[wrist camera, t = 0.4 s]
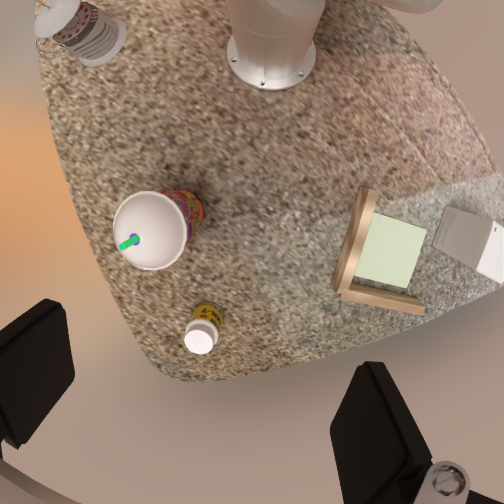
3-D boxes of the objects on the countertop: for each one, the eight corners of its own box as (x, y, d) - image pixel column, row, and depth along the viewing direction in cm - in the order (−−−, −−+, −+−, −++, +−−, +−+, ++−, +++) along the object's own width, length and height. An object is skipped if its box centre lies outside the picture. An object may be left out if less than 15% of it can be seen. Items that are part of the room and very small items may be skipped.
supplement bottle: (229, 312, 47) (223, 340, 39) (213, 332, 48) (204, 362, 40) (204, 295, 46) (192, 321, 38) (188, 316, 47) (175, 344, 39)
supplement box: (430, 246, 43) (474, 270, 31) (446, 204, 41) (494, 218, 29) (458, 260, 43) (502, 286, 31) (474, 221, 41) (521, 238, 29)
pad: (372, 211, 42) (373, 212, 41) (425, 229, 42) (426, 230, 42) (353, 274, 45) (353, 275, 44) (405, 287, 45) (406, 288, 44)
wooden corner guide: (360, 186, 41) (369, 188, 37) (443, 216, 41) (456, 221, 38) (329, 286, 45) (335, 297, 41) (412, 305, 46) (422, 315, 42)
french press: (136, 39, 36) (47, -35, 12) (81, 85, 38) (-29, 50, 14) (113, 8, 34) (33, -61, 10) (63, 51, 36) (-34, 11, 12)
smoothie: (217, 231, 44) (182, 280, 24) (166, 247, 44) (103, 302, 25) (199, 175, 41) (148, 182, 22) (147, 194, 42) (70, 216, 23)
